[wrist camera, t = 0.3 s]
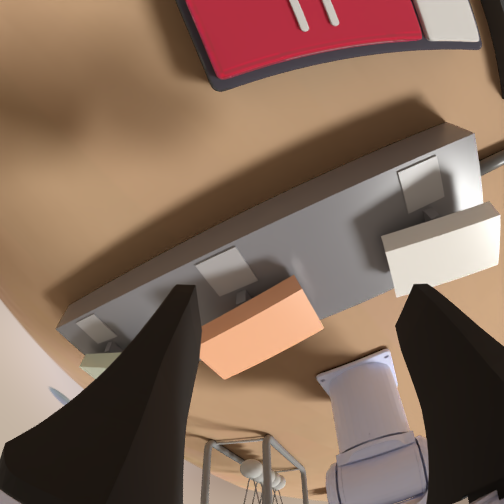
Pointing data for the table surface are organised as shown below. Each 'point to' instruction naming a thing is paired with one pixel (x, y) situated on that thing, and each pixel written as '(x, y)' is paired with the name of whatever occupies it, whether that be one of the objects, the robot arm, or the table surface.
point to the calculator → (317, 33)
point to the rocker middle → (258, 329)
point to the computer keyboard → (496, 32)
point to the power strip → (297, 240)
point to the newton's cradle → (254, 469)
